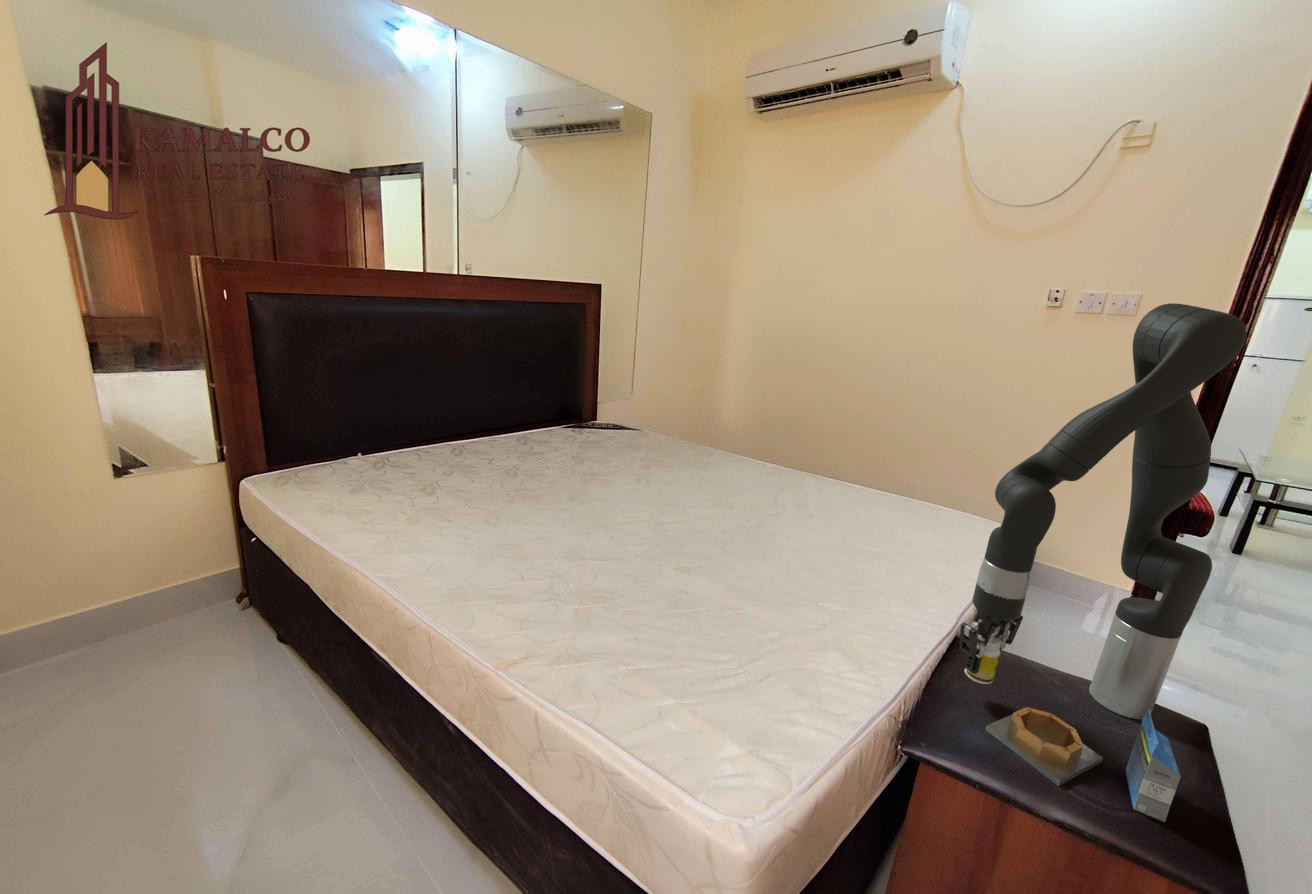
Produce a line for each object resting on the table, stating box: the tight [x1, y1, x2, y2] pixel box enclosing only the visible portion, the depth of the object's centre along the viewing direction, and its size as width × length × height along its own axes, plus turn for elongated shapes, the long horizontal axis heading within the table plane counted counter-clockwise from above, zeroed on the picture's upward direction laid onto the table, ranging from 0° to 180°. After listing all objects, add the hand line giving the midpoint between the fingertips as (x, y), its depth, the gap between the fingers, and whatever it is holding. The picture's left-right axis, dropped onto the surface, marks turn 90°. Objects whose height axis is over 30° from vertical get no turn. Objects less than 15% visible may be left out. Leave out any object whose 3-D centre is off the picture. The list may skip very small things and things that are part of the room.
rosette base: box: [985, 706, 1104, 787], centre depth 92 cm, size 12×12×4 cm
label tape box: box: [1125, 709, 1182, 823], centre depth 83 cm, size 9×4×12 cm, turn 146°
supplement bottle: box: [964, 635, 1001, 685], centre depth 100 cm, size 5×5×8 cm
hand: (980, 666), depth 101 cm, fingers closed on supplement bottle, 4 cm apart
